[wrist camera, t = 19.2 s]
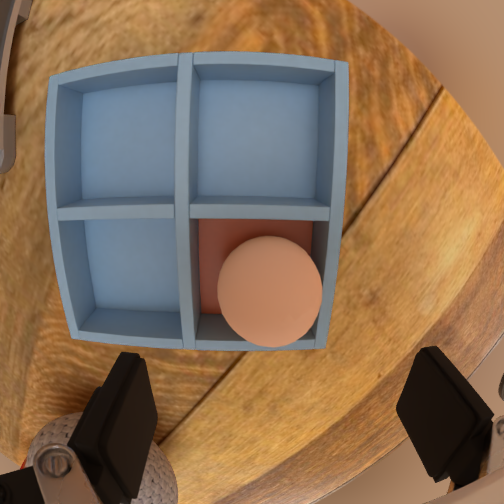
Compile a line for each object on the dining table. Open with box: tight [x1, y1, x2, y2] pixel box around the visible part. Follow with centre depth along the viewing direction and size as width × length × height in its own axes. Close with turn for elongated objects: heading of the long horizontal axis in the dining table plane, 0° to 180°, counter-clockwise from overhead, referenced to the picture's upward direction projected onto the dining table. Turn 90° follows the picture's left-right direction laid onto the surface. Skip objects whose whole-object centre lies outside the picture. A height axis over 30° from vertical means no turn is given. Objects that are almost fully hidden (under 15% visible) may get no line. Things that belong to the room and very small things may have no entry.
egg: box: [217, 236, 322, 348], centre depth 17 cm, size 6×6×8 cm
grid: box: [45, 51, 349, 351], centre depth 18 cm, size 17×17×4 cm
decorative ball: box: [26, 412, 178, 504], centre depth 19 cm, size 15×15×15 cm
